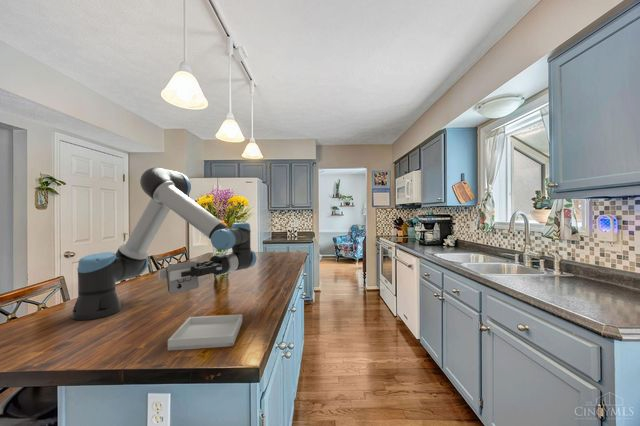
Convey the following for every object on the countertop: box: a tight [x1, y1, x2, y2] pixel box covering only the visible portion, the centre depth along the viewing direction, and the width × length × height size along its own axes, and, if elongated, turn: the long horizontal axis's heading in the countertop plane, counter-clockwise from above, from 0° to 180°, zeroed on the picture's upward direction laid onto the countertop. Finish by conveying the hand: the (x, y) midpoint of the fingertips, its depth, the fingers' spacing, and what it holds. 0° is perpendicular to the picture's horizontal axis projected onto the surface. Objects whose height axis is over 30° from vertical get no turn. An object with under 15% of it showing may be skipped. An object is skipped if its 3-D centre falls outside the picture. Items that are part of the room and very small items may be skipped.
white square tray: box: [167, 313, 243, 352], centre depth 89 cm, size 18×18×3 cm
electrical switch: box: [165, 260, 200, 295], centre depth 92 cm, size 9×5×9 cm, turn 143°
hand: (164, 275), depth 88 cm, fingers closed on electrical switch, 5 cm apart
